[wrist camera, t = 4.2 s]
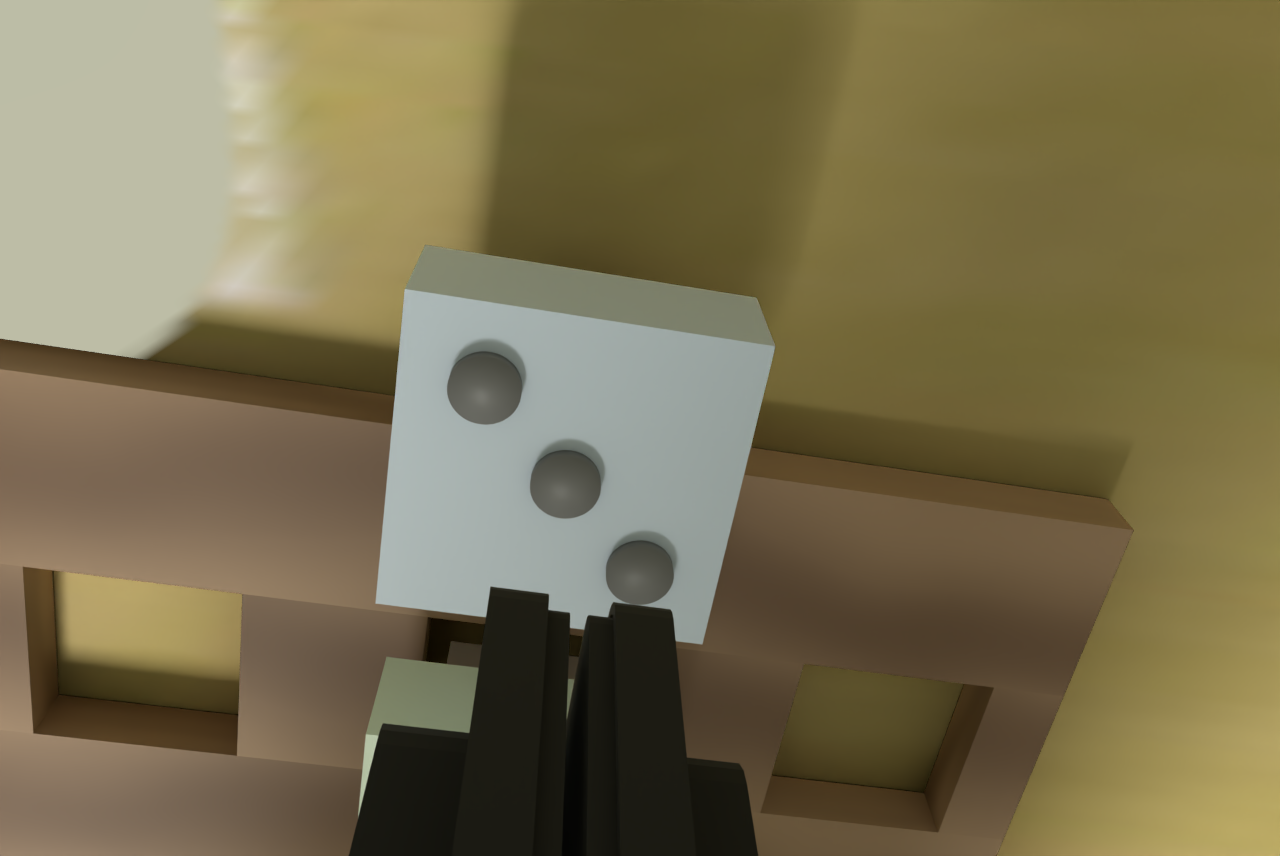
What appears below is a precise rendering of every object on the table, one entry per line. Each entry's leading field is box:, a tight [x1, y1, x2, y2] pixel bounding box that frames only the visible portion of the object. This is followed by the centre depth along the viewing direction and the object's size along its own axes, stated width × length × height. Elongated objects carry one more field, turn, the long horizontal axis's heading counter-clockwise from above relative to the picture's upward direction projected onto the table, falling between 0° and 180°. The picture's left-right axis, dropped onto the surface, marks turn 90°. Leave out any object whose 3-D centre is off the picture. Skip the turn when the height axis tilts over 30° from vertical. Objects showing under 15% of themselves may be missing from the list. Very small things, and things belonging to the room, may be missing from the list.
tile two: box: [358, 641, 579, 816], centre depth 21 cm, size 5×5×4 cm
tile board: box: [0, 339, 1134, 856], centre depth 24 cm, size 12×22×1 cm, turn 80°
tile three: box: [376, 245, 775, 644], centre depth 18 cm, size 5×5×4 cm
